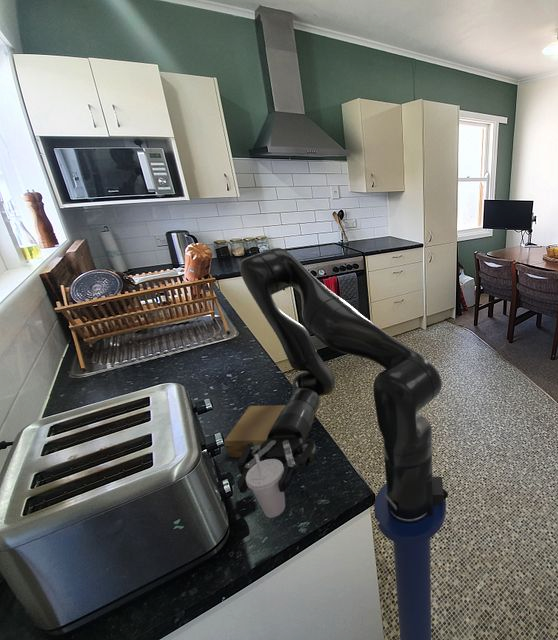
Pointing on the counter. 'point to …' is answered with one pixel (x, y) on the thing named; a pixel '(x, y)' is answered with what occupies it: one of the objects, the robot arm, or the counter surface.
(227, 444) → the bench
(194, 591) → the counter surface
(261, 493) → the smoothie
